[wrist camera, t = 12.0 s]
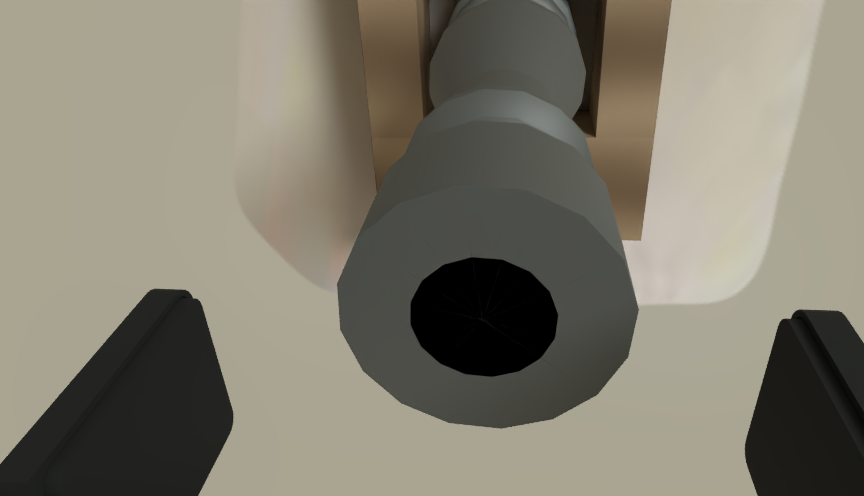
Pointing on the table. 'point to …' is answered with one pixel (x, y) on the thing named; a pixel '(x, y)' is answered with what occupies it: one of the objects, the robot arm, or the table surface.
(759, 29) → the table surface
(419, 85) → the holder board
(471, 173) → the candle holder
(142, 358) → the robot arm
